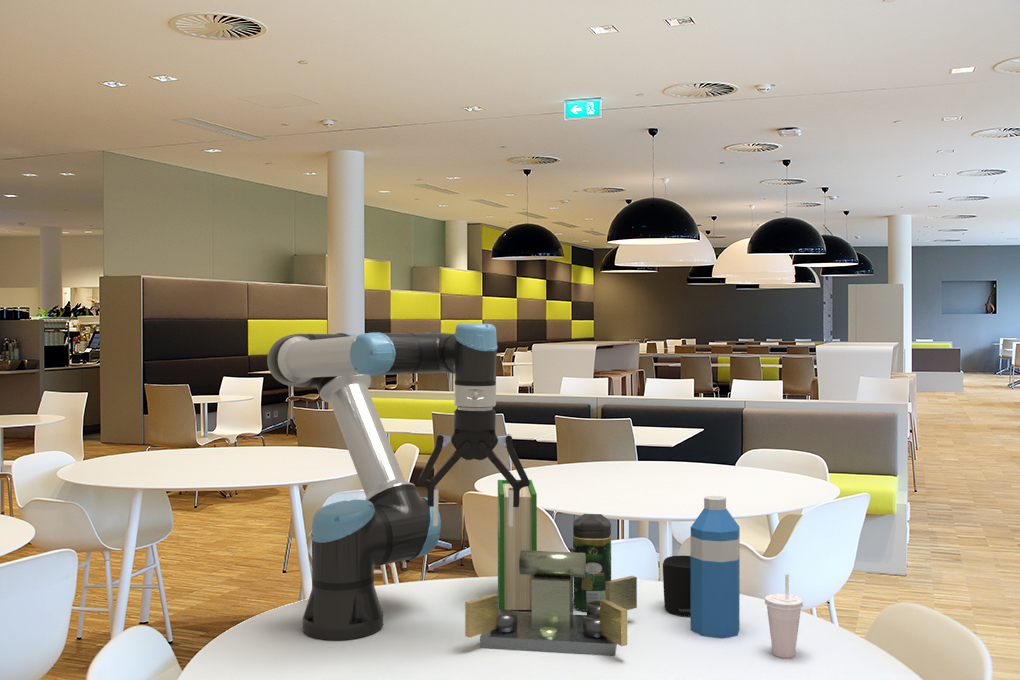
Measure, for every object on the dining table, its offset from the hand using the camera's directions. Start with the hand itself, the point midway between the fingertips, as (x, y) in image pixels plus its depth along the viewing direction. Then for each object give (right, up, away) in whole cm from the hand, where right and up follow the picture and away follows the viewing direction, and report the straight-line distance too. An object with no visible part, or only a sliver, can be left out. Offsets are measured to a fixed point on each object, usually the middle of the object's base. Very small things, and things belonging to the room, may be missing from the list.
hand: (473, 524), depth 160 cm
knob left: (+3, -19, -2) cm, 19 cm away
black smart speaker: (+42, -21, +18) cm, 51 cm away
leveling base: (+14, -21, +2) cm, 26 cm away
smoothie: (+55, -21, -7) cm, 59 cm away
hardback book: (+8, -21, +25) cm, 34 cm away
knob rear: (+26, -19, +8) cm, 33 cm away
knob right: (+24, -19, -5) cm, 31 cm away
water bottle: (+46, -21, +6) cm, 51 cm away
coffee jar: (+24, -21, +21) cm, 38 cm away
